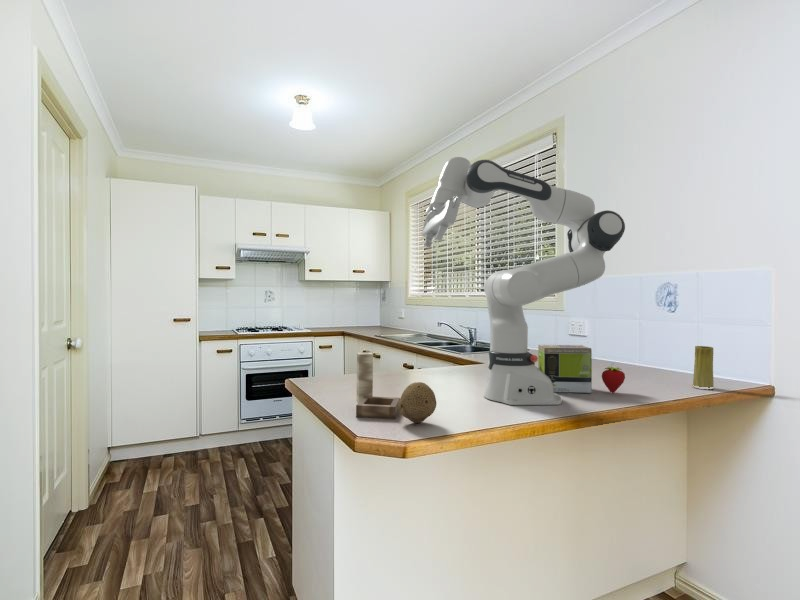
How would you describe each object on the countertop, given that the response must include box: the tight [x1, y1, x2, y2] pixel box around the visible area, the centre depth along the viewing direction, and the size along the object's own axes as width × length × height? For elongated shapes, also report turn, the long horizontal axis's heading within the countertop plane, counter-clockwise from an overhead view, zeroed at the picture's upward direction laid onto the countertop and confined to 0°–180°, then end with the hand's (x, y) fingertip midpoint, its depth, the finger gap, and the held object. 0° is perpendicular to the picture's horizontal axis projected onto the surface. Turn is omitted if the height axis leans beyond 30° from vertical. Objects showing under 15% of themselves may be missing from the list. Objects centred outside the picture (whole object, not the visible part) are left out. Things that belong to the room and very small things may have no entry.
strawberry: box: [601, 362, 626, 393], centre depth 146 cm, size 6×8×10 cm
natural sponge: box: [398, 381, 437, 424], centre depth 109 cm, size 9×9×10 cm
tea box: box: [537, 344, 593, 394], centre depth 150 cm, size 15×10×15 cm
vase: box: [692, 345, 715, 388], centre depth 155 cm, size 6×6×14 cm
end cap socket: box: [355, 396, 401, 420], centre depth 118 cm, size 10×10×3 cm
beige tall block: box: [356, 351, 374, 404], centre depth 130 cm, size 4×4×14 cm
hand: (432, 243), depth 140 cm, fingers open, 8 cm apart
